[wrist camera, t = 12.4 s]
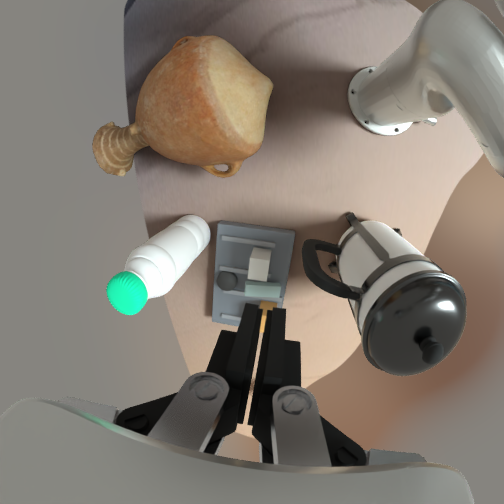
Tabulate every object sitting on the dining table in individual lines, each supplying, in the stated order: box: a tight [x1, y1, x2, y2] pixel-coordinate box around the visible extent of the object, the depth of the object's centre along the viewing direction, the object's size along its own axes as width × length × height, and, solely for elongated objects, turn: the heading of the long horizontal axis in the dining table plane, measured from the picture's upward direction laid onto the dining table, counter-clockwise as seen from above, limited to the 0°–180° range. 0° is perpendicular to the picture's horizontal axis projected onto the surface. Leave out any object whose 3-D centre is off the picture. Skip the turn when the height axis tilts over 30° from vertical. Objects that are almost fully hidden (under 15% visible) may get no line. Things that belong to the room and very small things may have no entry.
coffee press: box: [302, 212, 466, 376], centre depth 33 cm, size 17×16×30 cm
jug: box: [92, 35, 273, 178], centre depth 35 cm, size 20×19×30 cm
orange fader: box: [260, 300, 277, 333], centre depth 48 cm, size 3×4×5 cm
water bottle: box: [106, 215, 210, 315], centre depth 38 cm, size 7×7×25 cm
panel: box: [212, 220, 295, 326], centre depth 50 cm, size 13×20×4 cm, turn 174°
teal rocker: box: [244, 281, 281, 298], centre depth 47 cm, size 6×2×1 cm, turn 83°
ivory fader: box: [248, 247, 271, 282], centre depth 45 cm, size 3×4×5 cm
